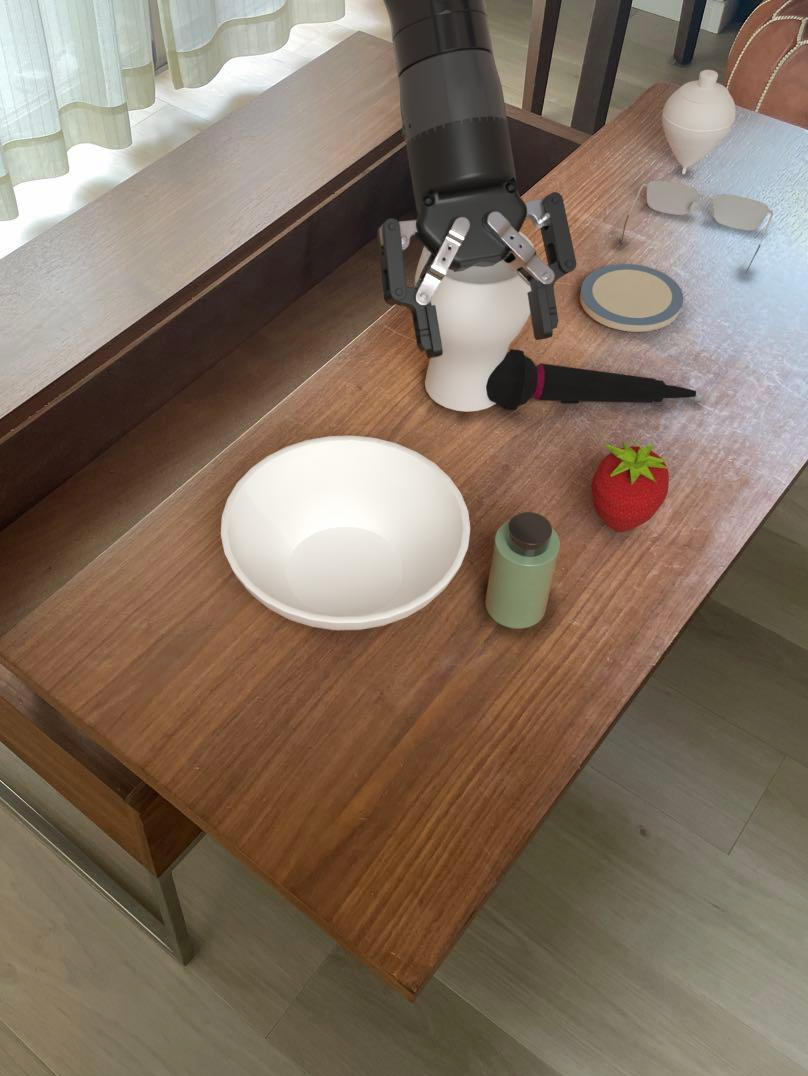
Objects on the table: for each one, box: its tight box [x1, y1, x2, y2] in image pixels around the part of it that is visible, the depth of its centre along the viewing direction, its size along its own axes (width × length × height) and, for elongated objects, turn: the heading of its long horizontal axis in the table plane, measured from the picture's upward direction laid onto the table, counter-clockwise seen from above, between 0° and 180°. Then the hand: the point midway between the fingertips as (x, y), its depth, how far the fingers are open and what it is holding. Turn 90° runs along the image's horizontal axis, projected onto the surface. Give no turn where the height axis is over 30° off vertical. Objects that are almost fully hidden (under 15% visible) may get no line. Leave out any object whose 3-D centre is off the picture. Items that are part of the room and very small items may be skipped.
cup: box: [414, 230, 535, 413], centre depth 99 cm, size 11×11×15 cm
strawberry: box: [590, 438, 670, 533], centre depth 89 cm, size 6×8×10 cm
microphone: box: [486, 348, 697, 411], centre depth 102 cm, size 6×6×20 cm
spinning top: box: [661, 69, 737, 175], centre depth 122 cm, size 8×8×12 cm
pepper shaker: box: [484, 511, 561, 630], centre depth 85 cm, size 5×5×10 cm
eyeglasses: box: [620, 179, 774, 274], centre depth 117 cm, size 14×8×4 cm, turn 62°
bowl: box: [220, 435, 471, 631], centre depth 89 cm, size 20×20×7 cm
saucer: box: [579, 263, 684, 333], centre depth 111 cm, size 10×10×2 cm
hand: (490, 347), depth 83 cm, fingers open, 8 cm apart
